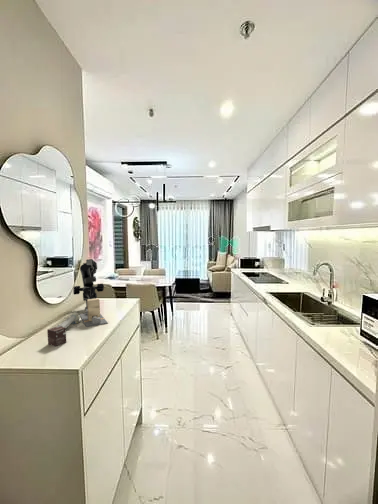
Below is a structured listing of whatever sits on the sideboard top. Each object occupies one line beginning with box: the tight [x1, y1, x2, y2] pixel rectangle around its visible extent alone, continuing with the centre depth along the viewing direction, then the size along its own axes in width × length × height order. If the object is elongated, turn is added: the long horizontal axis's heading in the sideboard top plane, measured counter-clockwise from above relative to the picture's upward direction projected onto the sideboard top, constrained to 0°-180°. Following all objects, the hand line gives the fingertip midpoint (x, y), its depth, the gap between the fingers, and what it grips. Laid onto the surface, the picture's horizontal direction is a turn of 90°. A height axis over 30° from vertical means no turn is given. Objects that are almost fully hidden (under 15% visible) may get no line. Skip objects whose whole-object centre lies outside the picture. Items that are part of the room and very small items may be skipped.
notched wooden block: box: [87, 297, 101, 321], centre depth 178 cm, size 5×6×12 cm
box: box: [46, 325, 67, 347], centre depth 142 cm, size 6×6×7 cm
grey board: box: [79, 308, 109, 328], centre depth 183 cm, size 30×12×4 cm, turn 27°
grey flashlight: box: [56, 311, 81, 329], centre depth 167 cm, size 5×7×25 cm
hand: (90, 299), depth 188 cm, fingers closed
